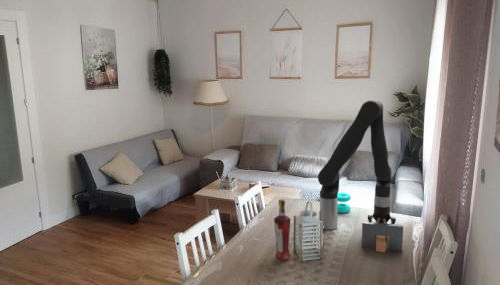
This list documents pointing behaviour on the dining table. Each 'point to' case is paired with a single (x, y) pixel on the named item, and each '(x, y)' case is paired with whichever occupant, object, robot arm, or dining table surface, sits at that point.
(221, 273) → the dining table surface
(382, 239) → the plug
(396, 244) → the plate
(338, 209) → the donuts
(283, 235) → the liquor
